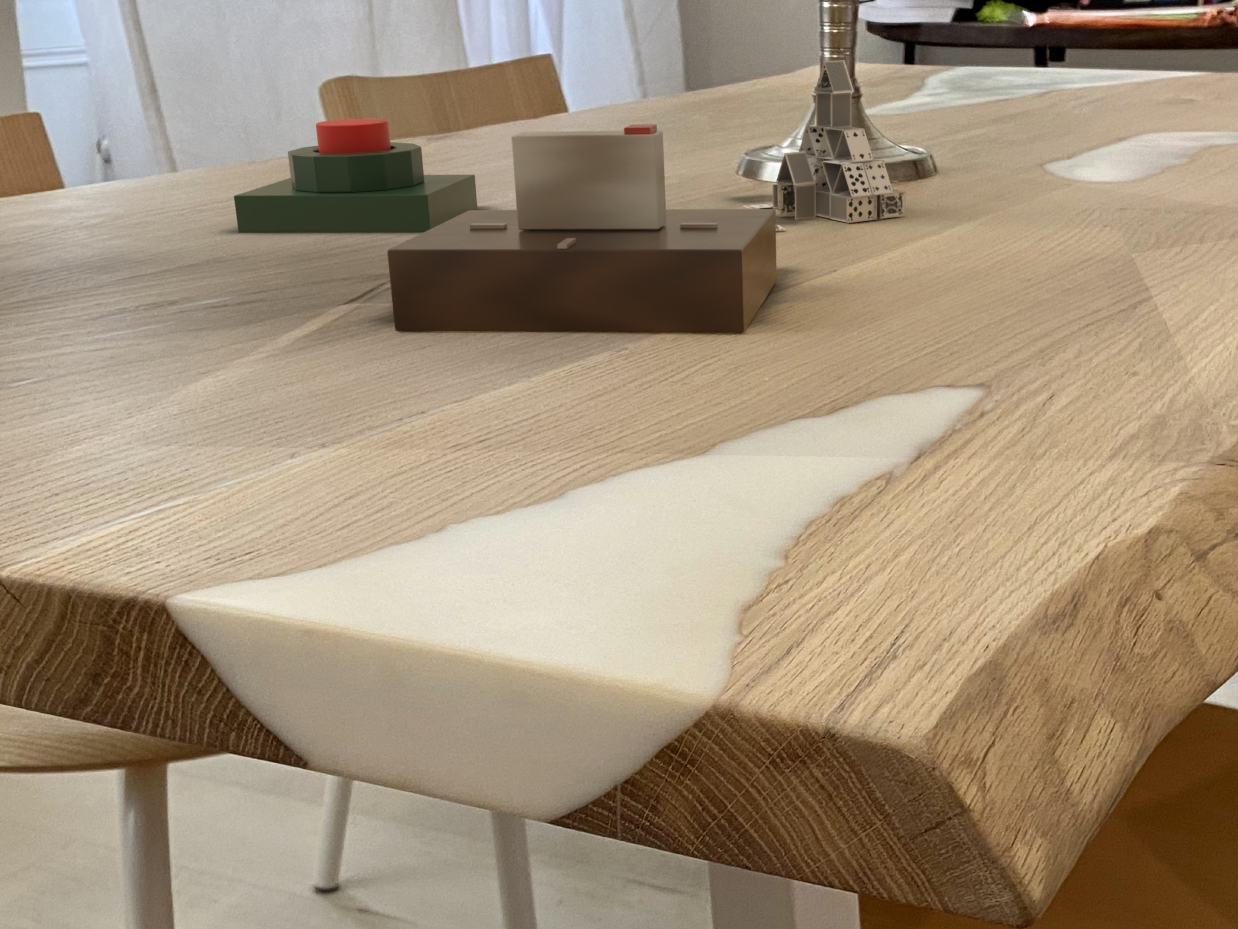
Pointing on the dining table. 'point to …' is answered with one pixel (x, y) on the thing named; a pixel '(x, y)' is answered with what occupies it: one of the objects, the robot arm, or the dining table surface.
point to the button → (353, 136)
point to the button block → (356, 194)
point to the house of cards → (834, 164)
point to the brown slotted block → (586, 275)
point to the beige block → (590, 179)
